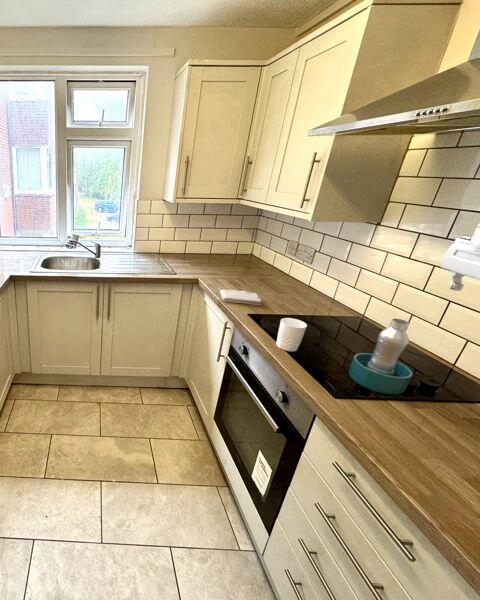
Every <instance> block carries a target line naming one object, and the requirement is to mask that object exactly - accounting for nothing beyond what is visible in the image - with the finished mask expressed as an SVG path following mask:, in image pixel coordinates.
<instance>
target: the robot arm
mask: <svg viewBox="0 0 480 600" xmlns="http://www.w3.org/2000/svg"><path fill="white" fill-rule="evenodd" d="M440 268H441V269H444V270H447V271H449V272H450V274H449V278H450V279H449V280H450V284H449V286H448V289H450V290H452V291H454V292H455V291H457V292H460V291H462V290H463V288H464V286H465V284H464V283H463V282H462V278H464V277H467V278H471V279H475V280H477V281H480V222H479V223H478V224H477V225H476V227H475V230H474V232H473V234H472V235H469V234H464V235H461V236H459V237H457V238H455V240H454V242H453V243H452V244H451V245H450V246H449V247H448V249H447V251H445V253H444V255H443V256H442V259H441V260H440Z"/></svg>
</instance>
